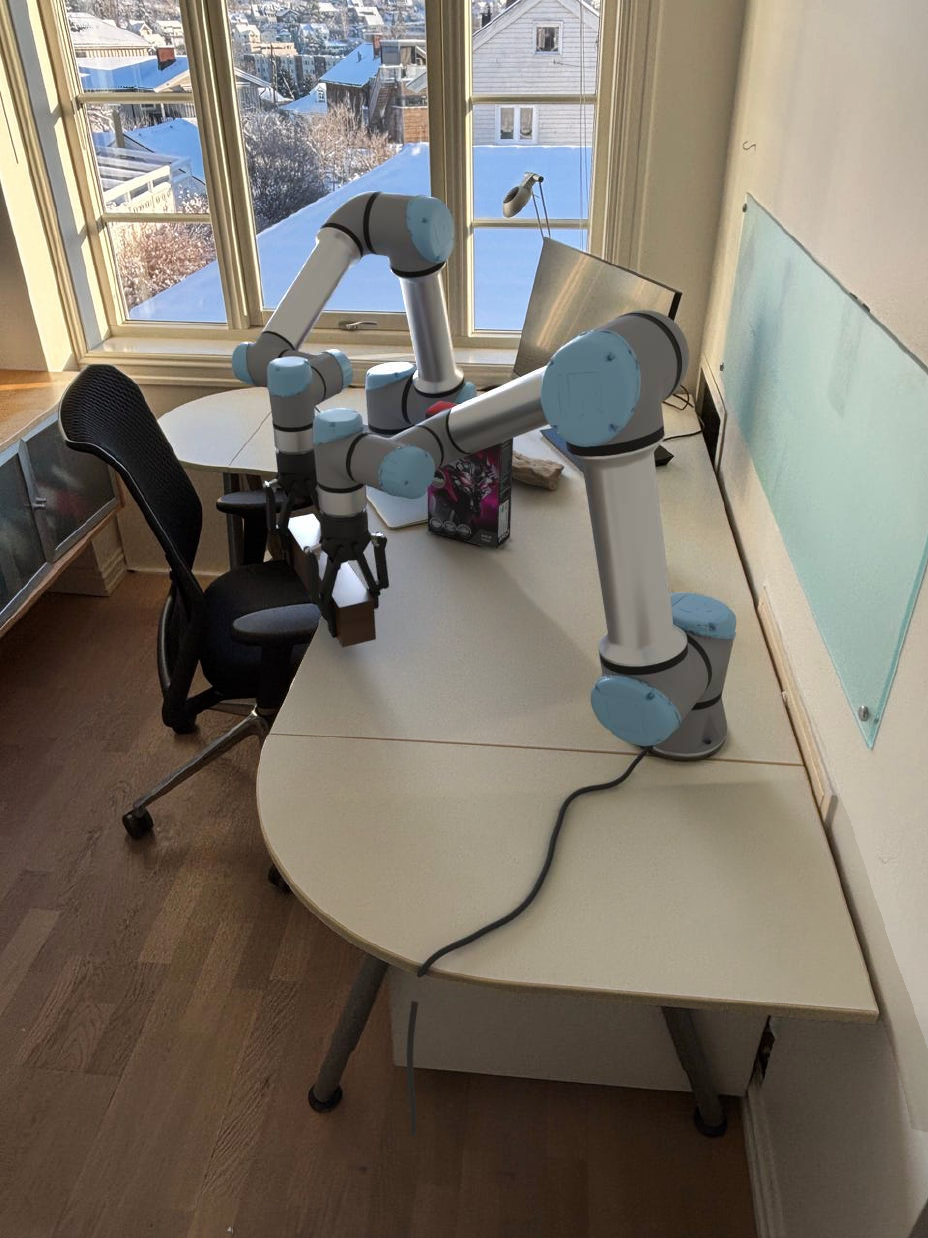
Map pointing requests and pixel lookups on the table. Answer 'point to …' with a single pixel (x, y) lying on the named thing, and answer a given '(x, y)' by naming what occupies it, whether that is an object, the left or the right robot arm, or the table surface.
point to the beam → (348, 591)
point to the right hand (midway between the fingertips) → (351, 628)
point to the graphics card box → (472, 494)
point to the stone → (535, 470)
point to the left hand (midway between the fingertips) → (307, 558)
